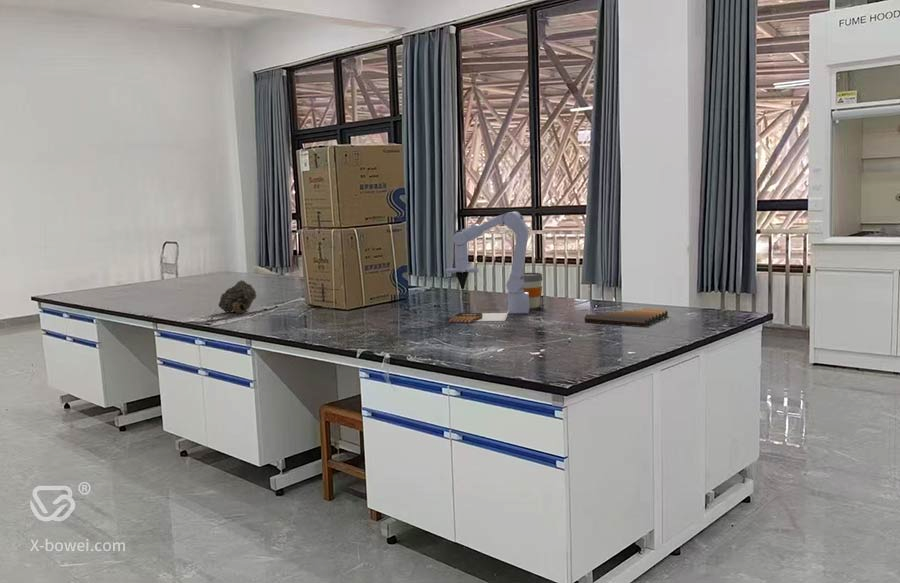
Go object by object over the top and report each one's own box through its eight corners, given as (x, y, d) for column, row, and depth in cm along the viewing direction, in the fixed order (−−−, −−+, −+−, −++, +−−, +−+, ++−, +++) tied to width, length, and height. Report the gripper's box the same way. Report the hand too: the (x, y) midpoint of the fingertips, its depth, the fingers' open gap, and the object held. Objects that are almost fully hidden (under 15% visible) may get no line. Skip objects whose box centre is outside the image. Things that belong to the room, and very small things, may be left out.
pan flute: (584, 323, 296) (644, 328, 282) (584, 315, 296) (644, 319, 281) (610, 313, 316) (667, 317, 301) (610, 305, 316) (667, 309, 301)
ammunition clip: (460, 317, 318) (447, 323, 308) (459, 312, 318) (446, 319, 307) (482, 317, 313) (470, 324, 303) (482, 313, 313) (469, 319, 302)
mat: (508, 313, 323) (508, 312, 323) (504, 321, 306) (504, 320, 306) (479, 314, 325) (479, 313, 325) (474, 321, 308) (474, 320, 308)
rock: (236, 275, 368) (244, 272, 355) (258, 294, 373) (267, 292, 360) (211, 303, 360) (220, 301, 348) (234, 322, 365) (243, 321, 353)
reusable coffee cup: (545, 308, 333) (544, 275, 331) (517, 309, 333) (516, 276, 331) (541, 303, 346) (540, 272, 344) (514, 305, 346) (513, 273, 344)
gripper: (478, 257, 333) (479, 287, 335) (447, 258, 335) (448, 287, 337) (476, 258, 326) (478, 289, 328) (444, 259, 328) (445, 290, 330)
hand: (462, 288), depth 332 cm, fingers closed
